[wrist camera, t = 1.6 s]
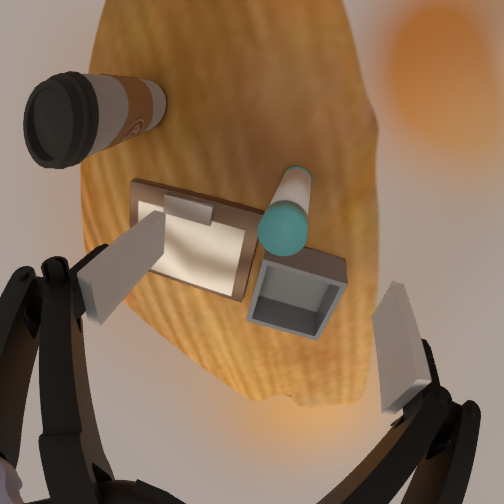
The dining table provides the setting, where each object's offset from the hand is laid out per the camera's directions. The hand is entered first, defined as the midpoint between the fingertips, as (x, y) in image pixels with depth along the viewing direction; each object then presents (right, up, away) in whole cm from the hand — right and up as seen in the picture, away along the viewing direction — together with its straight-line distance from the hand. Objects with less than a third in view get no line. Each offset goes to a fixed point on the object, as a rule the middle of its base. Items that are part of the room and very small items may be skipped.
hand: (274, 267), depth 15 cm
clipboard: (-9, +2, +21) cm, 23 cm away
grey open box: (+4, -3, +20) cm, 21 cm away
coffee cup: (-14, +18, +13) cm, 26 cm away
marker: (+4, +8, +14) cm, 17 cm away
